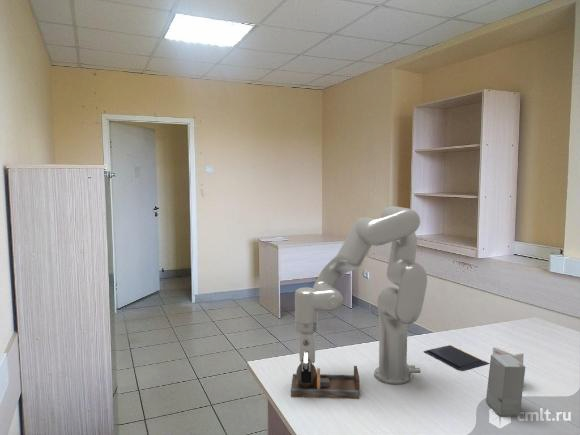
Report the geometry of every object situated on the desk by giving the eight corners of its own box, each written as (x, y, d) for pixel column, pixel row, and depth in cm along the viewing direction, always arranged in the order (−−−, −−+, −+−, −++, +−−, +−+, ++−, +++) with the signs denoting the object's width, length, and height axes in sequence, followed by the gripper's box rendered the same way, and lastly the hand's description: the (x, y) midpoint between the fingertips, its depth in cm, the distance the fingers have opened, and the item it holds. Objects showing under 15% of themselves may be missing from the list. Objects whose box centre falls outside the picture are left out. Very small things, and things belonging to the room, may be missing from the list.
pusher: (328, 379, 149) (328, 368, 148) (329, 391, 140) (329, 380, 140) (317, 378, 149) (317, 368, 149) (317, 391, 140) (317, 380, 140)
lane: (356, 380, 150) (356, 364, 149) (359, 398, 138) (359, 380, 137) (292, 379, 151) (292, 362, 151) (290, 397, 139) (290, 379, 139)
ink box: (523, 386, 145) (525, 352, 144) (513, 390, 143) (515, 355, 141) (500, 376, 153) (502, 343, 151) (491, 379, 150) (492, 346, 149)
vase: (315, 390, 141) (314, 364, 140) (295, 389, 142) (293, 363, 142) (319, 380, 148) (317, 355, 147) (299, 379, 149) (297, 355, 148)
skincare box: (485, 402, 135) (487, 353, 133) (507, 401, 136) (509, 352, 134) (500, 417, 127) (502, 365, 125) (523, 416, 127) (526, 364, 126)
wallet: (422, 348, 174) (451, 342, 180) (422, 352, 174) (451, 346, 180) (459, 368, 156) (491, 361, 162) (459, 373, 156) (490, 366, 162)
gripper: (317, 335, 134) (317, 389, 136) (317, 317, 151) (317, 364, 153) (293, 335, 135) (293, 388, 136) (296, 316, 152) (296, 364, 154)
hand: (306, 375), depth 145 cm, fingers open, 8 cm apart
